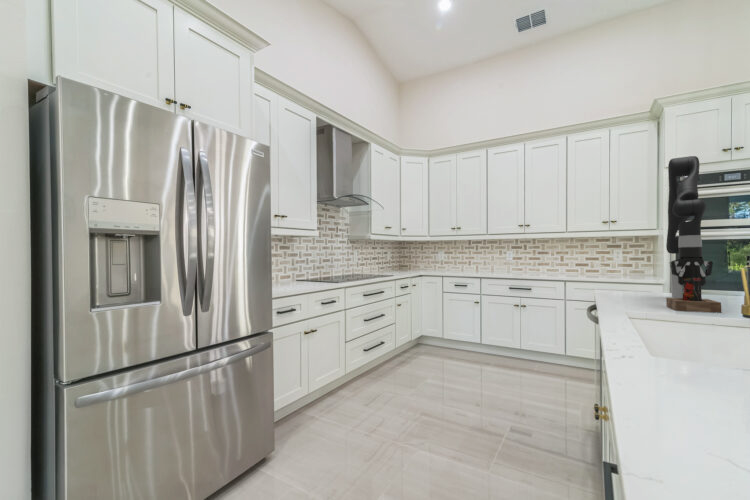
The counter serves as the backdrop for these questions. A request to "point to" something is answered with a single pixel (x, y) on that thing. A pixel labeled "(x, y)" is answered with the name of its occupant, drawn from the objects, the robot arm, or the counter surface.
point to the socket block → (693, 305)
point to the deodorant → (692, 283)
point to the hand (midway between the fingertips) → (691, 285)
